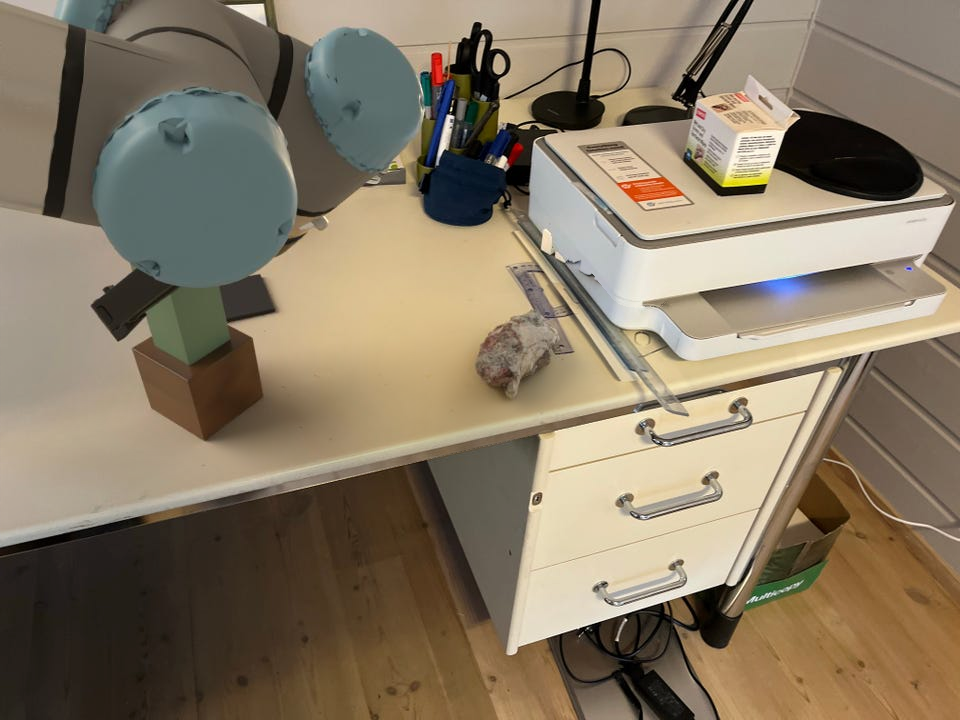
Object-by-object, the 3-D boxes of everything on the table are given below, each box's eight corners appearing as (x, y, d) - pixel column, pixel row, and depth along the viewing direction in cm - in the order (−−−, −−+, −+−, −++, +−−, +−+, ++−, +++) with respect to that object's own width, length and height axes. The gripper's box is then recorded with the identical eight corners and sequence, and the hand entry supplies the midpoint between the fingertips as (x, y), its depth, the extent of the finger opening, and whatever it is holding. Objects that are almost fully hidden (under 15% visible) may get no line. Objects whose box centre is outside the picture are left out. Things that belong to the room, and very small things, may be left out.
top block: (189, 366, 70) (166, 277, 64) (154, 346, 72) (128, 257, 66) (230, 339, 74) (212, 252, 67) (195, 320, 76) (174, 234, 69)
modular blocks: (540, 249, 104) (543, 224, 102) (573, 233, 108) (576, 209, 105) (656, 315, 94) (662, 289, 91) (687, 295, 98) (694, 269, 95)
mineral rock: (523, 318, 92) (526, 288, 89) (578, 345, 88) (583, 315, 86) (445, 379, 83) (446, 348, 80) (503, 412, 79) (506, 380, 76)
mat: (170, 334, 86) (169, 330, 86) (161, 296, 92) (160, 293, 91) (275, 311, 91) (274, 308, 90) (260, 276, 96) (260, 273, 96)
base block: (204, 441, 74) (188, 381, 69) (150, 407, 77) (131, 348, 72) (264, 396, 79) (252, 337, 74) (211, 367, 82) (197, 308, 77)
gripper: (159, 320, 47) (81, 397, 62) (406, 175, 63) (295, 266, 79) (81, 218, 45) (21, 323, 61) (354, 97, 62) (251, 205, 77)
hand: (175, 291), depth 70 cm, fingers open, 13 cm apart
